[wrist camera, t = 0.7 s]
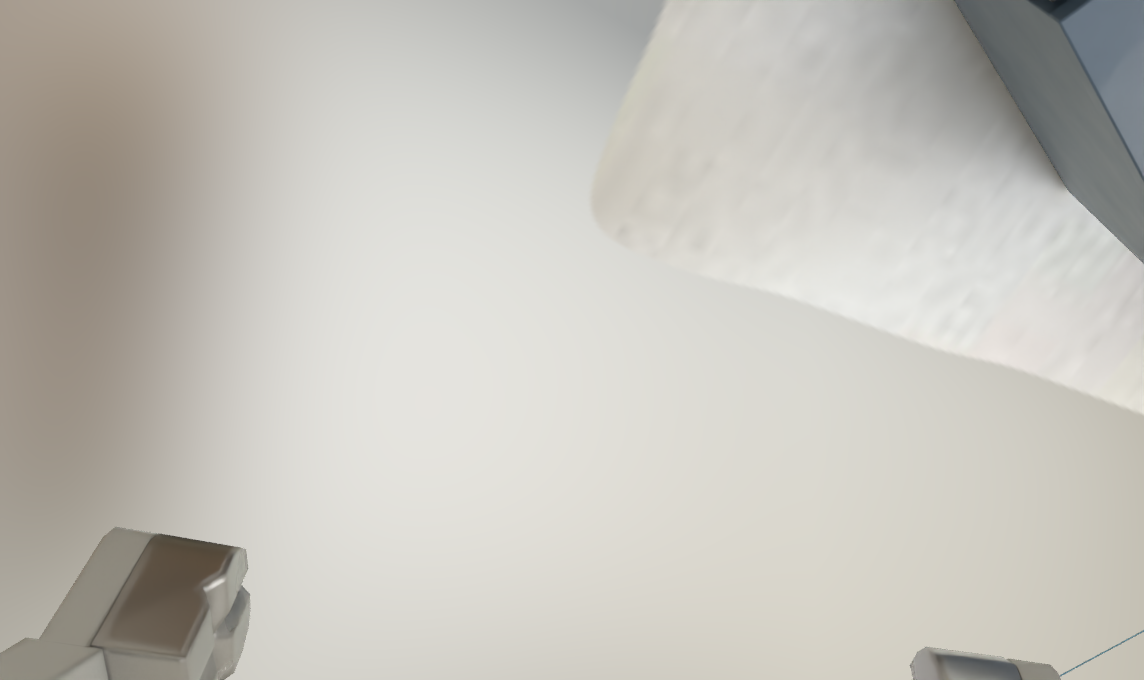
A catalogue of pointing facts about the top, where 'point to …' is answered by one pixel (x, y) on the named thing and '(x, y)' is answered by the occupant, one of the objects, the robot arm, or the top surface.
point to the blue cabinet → (1077, 94)
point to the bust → (1101, 653)
